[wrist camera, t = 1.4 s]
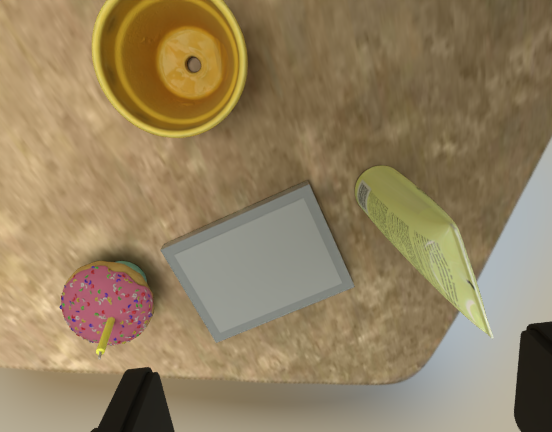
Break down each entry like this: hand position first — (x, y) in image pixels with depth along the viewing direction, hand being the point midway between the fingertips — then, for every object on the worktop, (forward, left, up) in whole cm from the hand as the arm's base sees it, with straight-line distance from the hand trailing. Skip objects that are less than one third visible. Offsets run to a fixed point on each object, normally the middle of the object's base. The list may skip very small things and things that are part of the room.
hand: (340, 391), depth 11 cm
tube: (-7, +7, -31) cm, 32 cm away
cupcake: (+21, +5, -31) cm, 37 cm away
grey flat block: (+7, +9, -30) cm, 32 cm away
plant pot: (+4, -11, -31) cm, 33 cm away
